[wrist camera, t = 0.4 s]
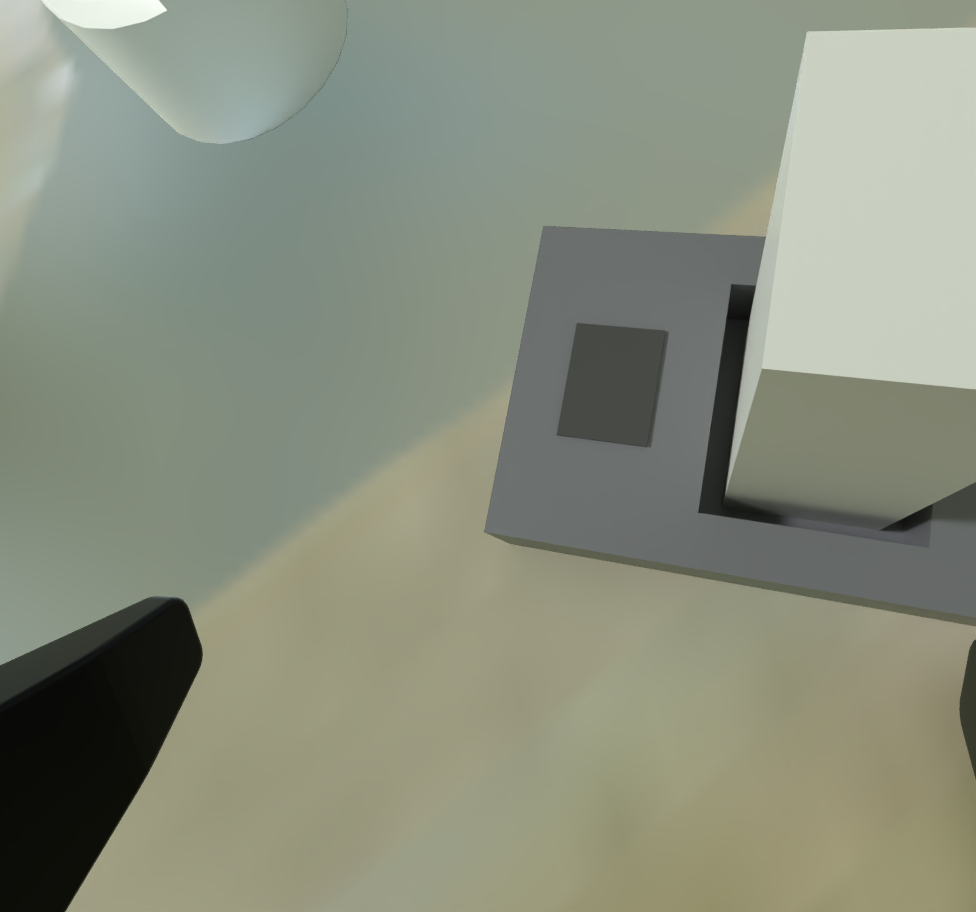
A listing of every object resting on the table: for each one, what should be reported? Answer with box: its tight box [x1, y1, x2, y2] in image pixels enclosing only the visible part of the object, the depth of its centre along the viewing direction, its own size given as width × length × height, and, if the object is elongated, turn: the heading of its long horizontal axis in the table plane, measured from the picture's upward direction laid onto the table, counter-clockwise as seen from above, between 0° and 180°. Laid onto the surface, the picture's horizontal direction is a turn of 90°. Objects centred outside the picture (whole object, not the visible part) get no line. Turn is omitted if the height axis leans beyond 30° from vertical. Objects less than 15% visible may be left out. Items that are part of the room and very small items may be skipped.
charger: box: [722, 28, 976, 531], centre depth 15 cm, size 4×5×12 cm
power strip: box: [484, 226, 976, 626], centre depth 20 cm, size 16×9×4 cm, turn 79°
